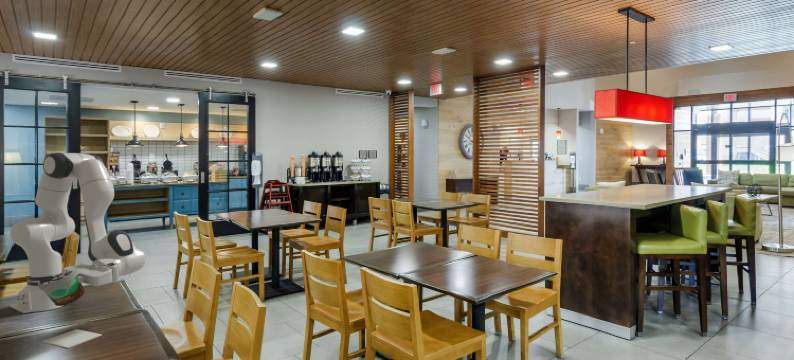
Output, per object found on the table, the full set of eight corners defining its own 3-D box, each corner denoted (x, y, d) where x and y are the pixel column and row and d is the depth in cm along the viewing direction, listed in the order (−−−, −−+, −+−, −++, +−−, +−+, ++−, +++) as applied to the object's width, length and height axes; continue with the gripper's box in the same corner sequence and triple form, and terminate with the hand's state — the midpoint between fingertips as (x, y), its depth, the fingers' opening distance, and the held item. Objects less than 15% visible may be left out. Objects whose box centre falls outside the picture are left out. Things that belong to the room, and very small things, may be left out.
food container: (49, 313, 157) (35, 290, 153) (49, 305, 162) (36, 282, 157) (89, 296, 162) (77, 273, 158) (88, 288, 167) (76, 266, 163)
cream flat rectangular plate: (41, 342, 161) (41, 341, 161) (76, 329, 172) (76, 329, 172) (68, 348, 156) (67, 347, 156) (102, 335, 167) (102, 334, 167)
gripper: (85, 258, 178) (45, 268, 165) (120, 266, 169) (81, 277, 157) (86, 273, 179) (47, 284, 166) (120, 282, 170) (82, 295, 158)
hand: (64, 281), depth 161 cm, fingers closed on food container, 2 cm apart
